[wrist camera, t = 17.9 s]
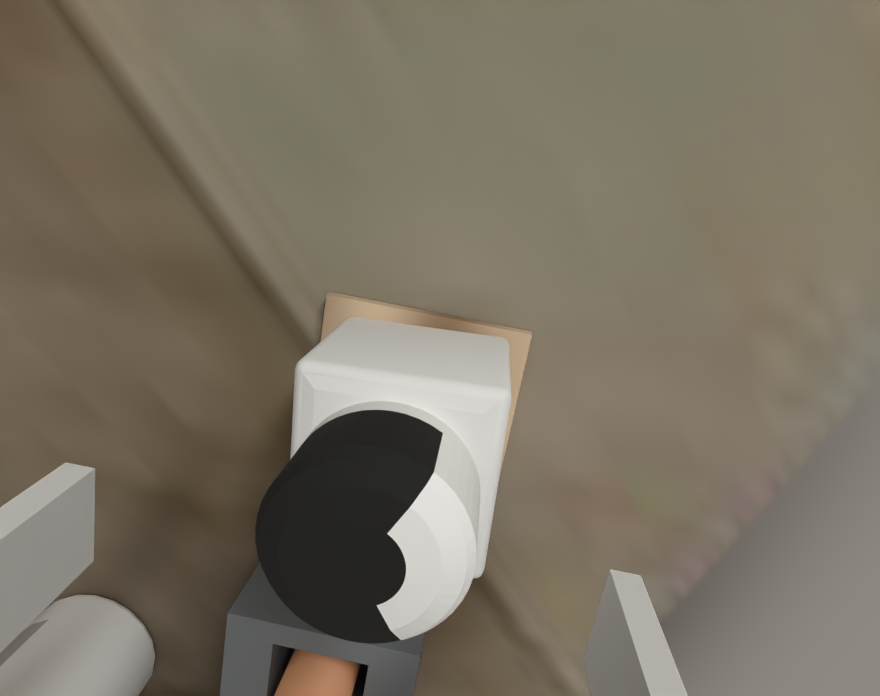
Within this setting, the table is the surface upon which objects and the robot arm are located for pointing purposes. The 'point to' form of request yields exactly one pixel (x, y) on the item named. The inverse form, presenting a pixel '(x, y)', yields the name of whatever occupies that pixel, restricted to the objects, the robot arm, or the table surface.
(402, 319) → the cork pad
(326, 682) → the plunger
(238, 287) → the table surface
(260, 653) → the grey plunger block
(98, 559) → the table surface
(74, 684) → the spray bottle
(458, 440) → the medicine bottle
